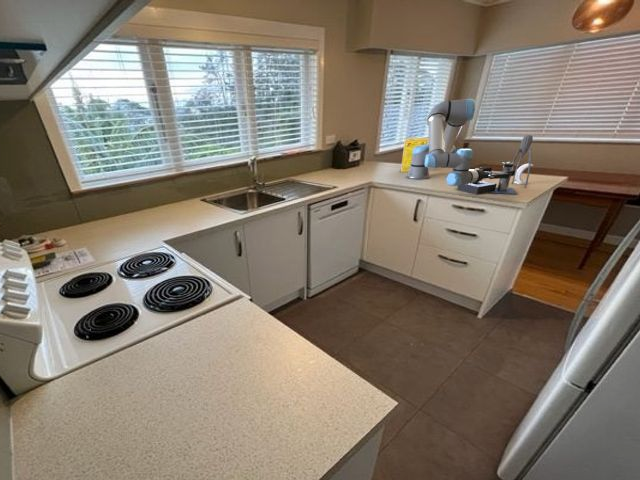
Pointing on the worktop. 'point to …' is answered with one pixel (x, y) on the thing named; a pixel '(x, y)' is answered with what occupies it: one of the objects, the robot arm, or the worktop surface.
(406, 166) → the packaging box
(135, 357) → the worktop surface
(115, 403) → the worktop surface
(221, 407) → the worktop surface
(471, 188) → the blender base
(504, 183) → the blade unit
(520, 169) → the curved silver pipe
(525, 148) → the citrus juicer
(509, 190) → the mat
